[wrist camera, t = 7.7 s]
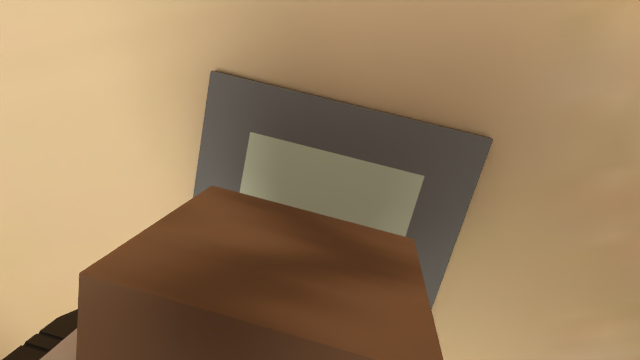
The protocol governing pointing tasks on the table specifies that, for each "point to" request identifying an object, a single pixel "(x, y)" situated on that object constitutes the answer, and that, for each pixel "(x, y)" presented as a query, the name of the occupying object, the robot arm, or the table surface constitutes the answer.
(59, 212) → the table surface
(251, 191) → the grey flat square slab
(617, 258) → the table surface
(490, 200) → the table surface
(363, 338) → the walnut block
